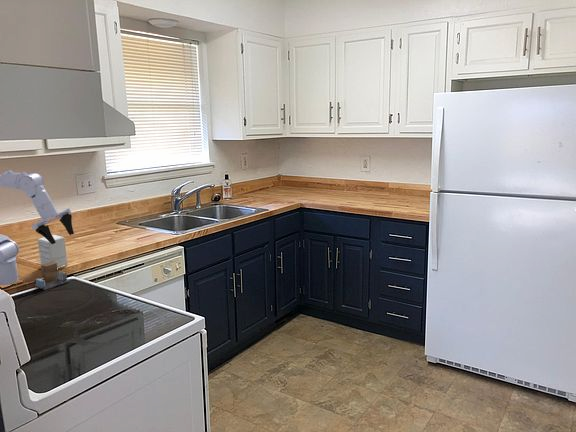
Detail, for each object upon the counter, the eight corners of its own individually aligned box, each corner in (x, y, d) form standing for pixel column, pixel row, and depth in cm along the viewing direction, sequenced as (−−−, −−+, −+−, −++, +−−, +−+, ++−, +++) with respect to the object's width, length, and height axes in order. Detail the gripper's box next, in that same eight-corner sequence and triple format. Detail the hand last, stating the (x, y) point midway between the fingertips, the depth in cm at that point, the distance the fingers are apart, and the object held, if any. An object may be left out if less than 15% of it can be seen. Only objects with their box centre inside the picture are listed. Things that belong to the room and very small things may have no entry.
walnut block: (42, 279, 179) (40, 264, 177) (53, 275, 183) (51, 261, 181) (47, 281, 177) (45, 266, 176) (58, 277, 181) (56, 263, 180)
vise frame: (35, 286, 172) (34, 278, 171) (60, 277, 180) (59, 270, 180) (44, 290, 169) (43, 282, 168) (70, 281, 177) (69, 273, 177)
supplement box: (56, 262, 196) (53, 234, 193) (68, 265, 193) (65, 237, 190) (40, 267, 190) (36, 238, 187) (51, 271, 187) (48, 241, 184)
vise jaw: (36, 285, 171) (35, 279, 170) (40, 284, 172) (39, 278, 172) (41, 288, 169) (41, 281, 169) (45, 286, 170) (44, 280, 170)
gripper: (30, 210, 157) (50, 245, 160) (67, 195, 168) (85, 228, 171) (21, 215, 161) (41, 249, 164) (57, 199, 172) (75, 232, 175)
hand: (63, 238), depth 168 cm, fingers open, 7 cm apart
